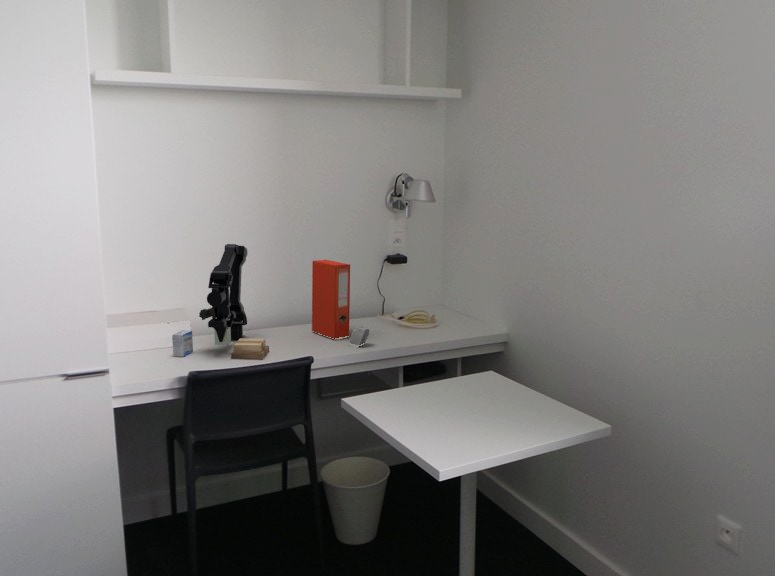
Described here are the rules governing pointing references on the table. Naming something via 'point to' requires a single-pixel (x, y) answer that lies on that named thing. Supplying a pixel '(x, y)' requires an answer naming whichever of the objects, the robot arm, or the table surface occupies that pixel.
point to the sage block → (226, 338)
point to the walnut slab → (250, 355)
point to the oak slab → (249, 345)
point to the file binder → (330, 298)
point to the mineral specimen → (359, 335)
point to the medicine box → (182, 343)
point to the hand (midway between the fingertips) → (222, 340)
